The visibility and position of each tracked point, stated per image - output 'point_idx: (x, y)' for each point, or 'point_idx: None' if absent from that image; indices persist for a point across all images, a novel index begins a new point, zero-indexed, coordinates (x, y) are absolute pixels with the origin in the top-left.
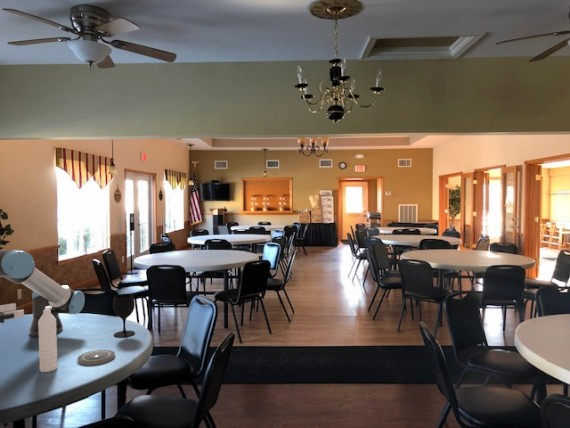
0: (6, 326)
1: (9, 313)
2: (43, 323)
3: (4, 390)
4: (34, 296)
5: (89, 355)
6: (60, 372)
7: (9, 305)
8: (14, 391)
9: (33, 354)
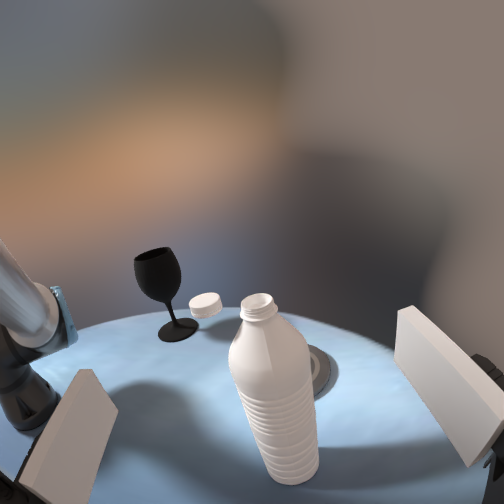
0: None
1: (479, 383)
2: (304, 360)
3: None
4: None
5: None
6: (339, 438)
7: (79, 411)
8: None
9: (131, 476)
